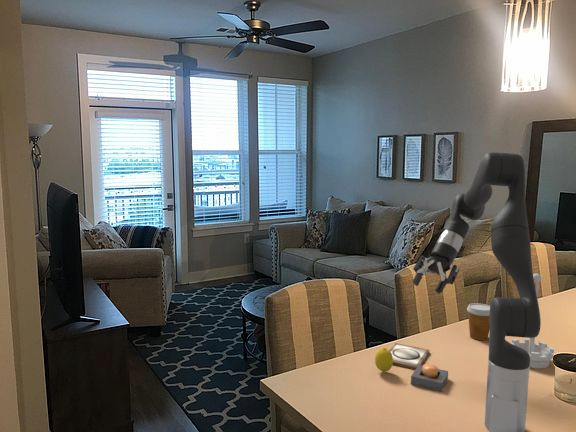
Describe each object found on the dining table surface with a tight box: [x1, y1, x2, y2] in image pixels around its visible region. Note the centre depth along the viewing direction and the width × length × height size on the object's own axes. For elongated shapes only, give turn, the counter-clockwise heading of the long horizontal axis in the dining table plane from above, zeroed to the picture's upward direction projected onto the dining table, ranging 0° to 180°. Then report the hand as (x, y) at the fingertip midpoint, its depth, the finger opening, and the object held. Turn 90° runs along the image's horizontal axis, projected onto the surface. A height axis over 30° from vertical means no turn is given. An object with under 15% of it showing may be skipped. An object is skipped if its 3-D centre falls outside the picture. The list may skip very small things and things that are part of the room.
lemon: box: [374, 347, 394, 373], centre depth 148 cm, size 6×6×8 cm
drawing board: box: [388, 343, 431, 371], centre depth 160 cm, size 16×12×1 cm
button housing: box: [410, 365, 449, 392], centre depth 142 cm, size 9×9×2 cm
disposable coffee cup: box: [466, 302, 490, 341], centre depth 177 cm, size 10×10×12 cm
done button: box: [422, 363, 439, 378], centre depth 142 cm, size 4×4×2 cm
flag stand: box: [509, 273, 555, 369], centre depth 155 cm, size 13×13×30 cm
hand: (426, 288), depth 154 cm, fingers open, 8 cm apart
